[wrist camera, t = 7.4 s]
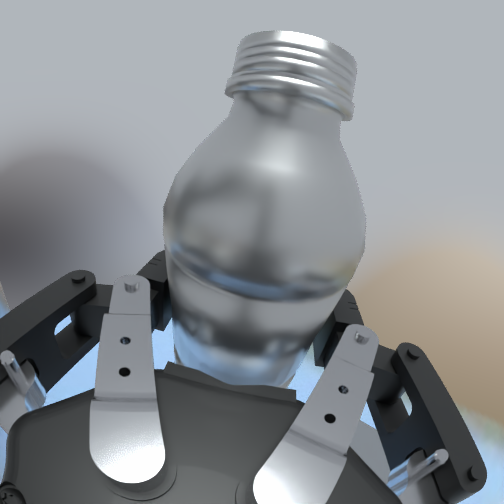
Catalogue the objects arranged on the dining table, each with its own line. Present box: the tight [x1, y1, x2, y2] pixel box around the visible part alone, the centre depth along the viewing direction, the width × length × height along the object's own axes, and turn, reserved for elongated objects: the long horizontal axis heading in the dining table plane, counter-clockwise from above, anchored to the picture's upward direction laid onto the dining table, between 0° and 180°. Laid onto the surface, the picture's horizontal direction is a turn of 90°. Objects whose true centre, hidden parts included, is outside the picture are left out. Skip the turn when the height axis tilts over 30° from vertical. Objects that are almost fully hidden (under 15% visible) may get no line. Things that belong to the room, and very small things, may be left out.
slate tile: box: [350, 420, 391, 485], centre depth 16 cm, size 16×14×2 cm
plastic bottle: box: [163, 31, 366, 389], centre depth 11 cm, size 6×7×20 cm
